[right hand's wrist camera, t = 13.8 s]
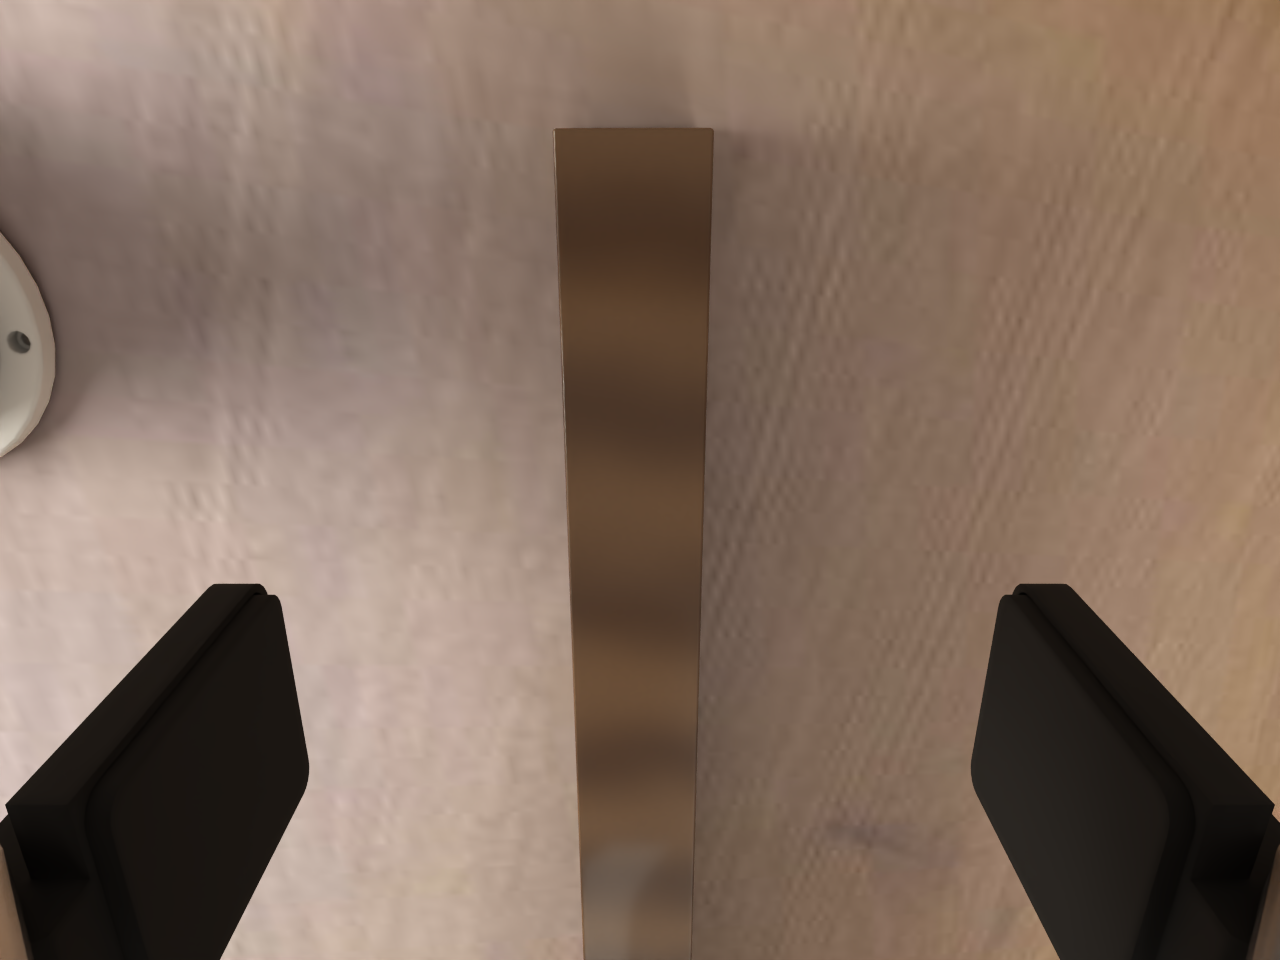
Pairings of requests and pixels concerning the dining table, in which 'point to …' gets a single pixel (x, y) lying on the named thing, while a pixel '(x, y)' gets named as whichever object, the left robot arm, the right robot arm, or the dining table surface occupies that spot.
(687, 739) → the beam
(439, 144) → the dining table surface
